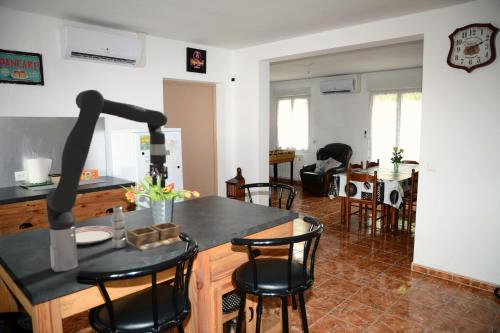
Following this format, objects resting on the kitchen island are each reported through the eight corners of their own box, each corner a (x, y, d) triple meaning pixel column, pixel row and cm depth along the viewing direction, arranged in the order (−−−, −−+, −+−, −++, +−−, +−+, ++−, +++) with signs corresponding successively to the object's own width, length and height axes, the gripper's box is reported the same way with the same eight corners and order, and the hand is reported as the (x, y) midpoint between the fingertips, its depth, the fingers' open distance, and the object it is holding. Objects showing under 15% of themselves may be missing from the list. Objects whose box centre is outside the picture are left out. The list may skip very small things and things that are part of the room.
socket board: (142, 251, 166) (141, 238, 165) (126, 241, 179) (125, 230, 179) (186, 239, 182) (186, 228, 181) (169, 231, 195) (168, 221, 195)
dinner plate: (117, 228, 202) (117, 223, 202) (118, 243, 177) (118, 237, 177) (63, 234, 193) (63, 228, 192) (56, 251, 167) (55, 244, 167)
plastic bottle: (109, 247, 171) (107, 207, 169) (123, 244, 176) (121, 204, 173) (115, 251, 166) (113, 209, 164) (129, 247, 171) (127, 206, 169)
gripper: (144, 153, 175) (145, 185, 177) (157, 154, 164) (158, 189, 166) (158, 152, 180) (158, 184, 182) (172, 154, 169) (173, 187, 171)
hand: (158, 186), depth 174 cm, fingers open, 8 cm apart
